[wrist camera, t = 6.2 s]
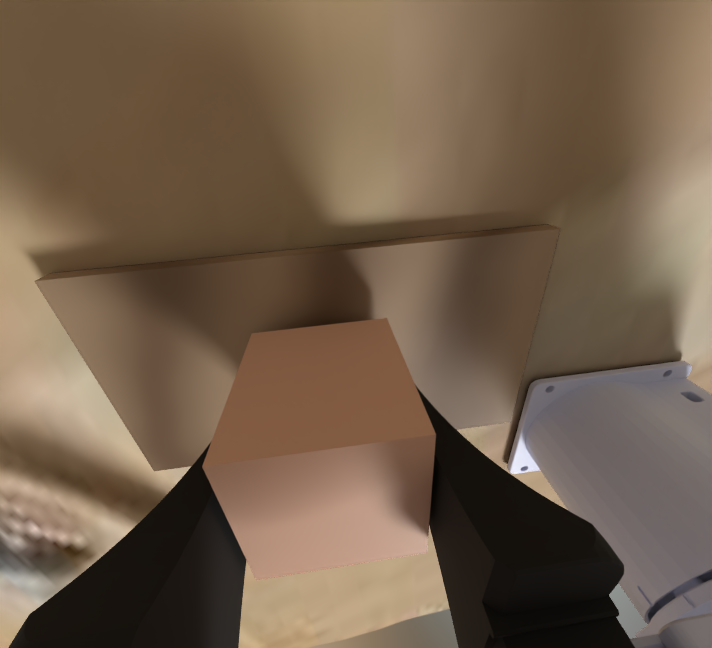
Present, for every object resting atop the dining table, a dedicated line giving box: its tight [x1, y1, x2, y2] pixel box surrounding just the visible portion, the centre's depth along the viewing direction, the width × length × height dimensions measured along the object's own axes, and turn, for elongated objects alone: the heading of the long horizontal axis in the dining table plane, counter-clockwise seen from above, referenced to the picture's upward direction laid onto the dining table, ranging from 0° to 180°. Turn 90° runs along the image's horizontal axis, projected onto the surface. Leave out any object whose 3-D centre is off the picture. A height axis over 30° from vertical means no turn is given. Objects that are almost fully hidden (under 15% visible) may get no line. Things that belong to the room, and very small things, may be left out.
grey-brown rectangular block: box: [35, 224, 560, 471], centre depth 13 cm, size 20×11×6 cm, turn 94°
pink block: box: [202, 318, 436, 580], centre depth 11 cm, size 5×5×6 cm
